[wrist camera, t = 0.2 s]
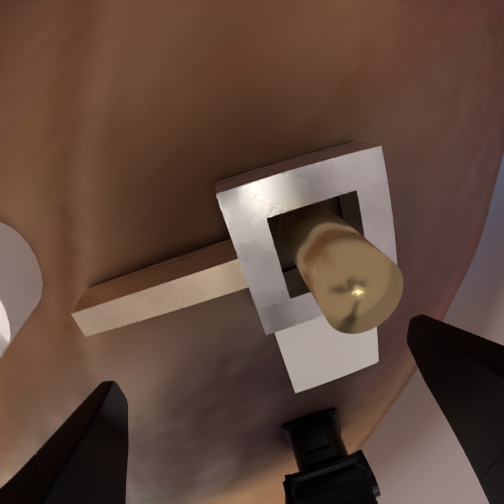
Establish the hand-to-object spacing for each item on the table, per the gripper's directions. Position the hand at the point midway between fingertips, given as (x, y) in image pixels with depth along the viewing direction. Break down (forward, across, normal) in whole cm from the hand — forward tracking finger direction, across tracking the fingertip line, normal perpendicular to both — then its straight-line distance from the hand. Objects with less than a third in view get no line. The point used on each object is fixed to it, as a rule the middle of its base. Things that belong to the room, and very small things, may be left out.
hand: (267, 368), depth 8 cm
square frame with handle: (+14, +1, +2) cm, 14 cm away
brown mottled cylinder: (+14, -5, +2) cm, 15 cm away
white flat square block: (+14, -6, +13) cm, 21 cm away
